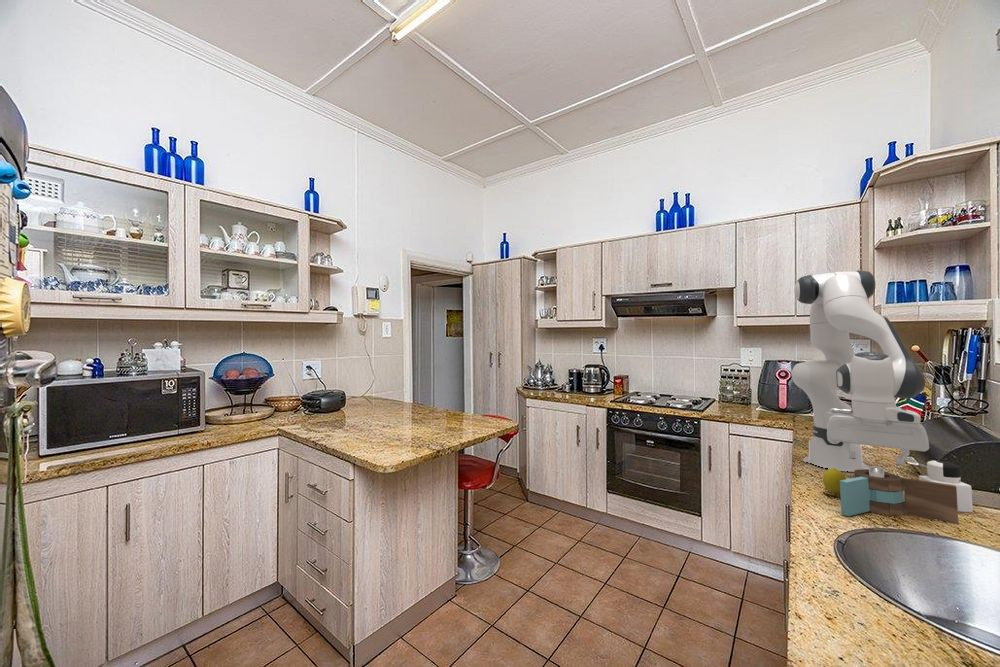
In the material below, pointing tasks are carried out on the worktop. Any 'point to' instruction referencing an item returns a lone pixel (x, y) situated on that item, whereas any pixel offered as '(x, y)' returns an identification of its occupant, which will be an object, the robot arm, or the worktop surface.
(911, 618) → the worktop surface
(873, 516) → the worktop surface
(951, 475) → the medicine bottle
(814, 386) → the robot arm
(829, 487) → the lemon
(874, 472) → the steel pin
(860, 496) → the hinge swing leaf
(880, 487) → the hinge fixed leaf
